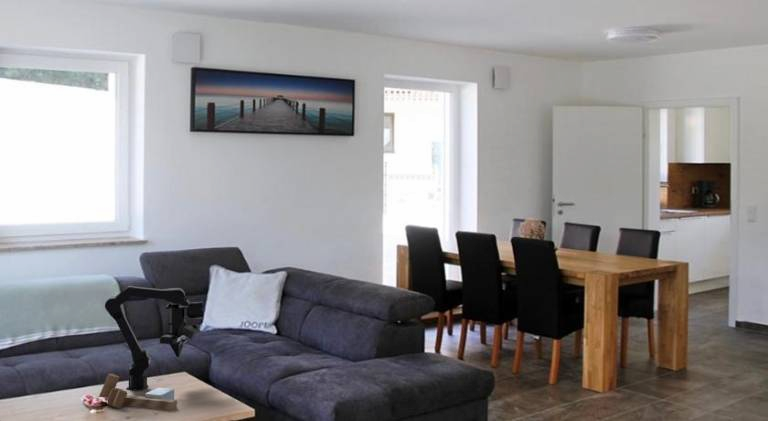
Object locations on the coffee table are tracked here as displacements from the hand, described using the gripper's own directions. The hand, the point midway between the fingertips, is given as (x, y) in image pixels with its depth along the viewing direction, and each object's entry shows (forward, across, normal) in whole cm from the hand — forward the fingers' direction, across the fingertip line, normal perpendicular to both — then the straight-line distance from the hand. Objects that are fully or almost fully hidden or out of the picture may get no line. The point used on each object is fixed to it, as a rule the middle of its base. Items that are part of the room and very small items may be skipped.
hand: (178, 356), depth 326 cm
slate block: (+12, -23, -6) cm, 27 cm away
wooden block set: (+12, -29, +11) cm, 33 cm away
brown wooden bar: (+12, -29, -5) cm, 32 cm away
